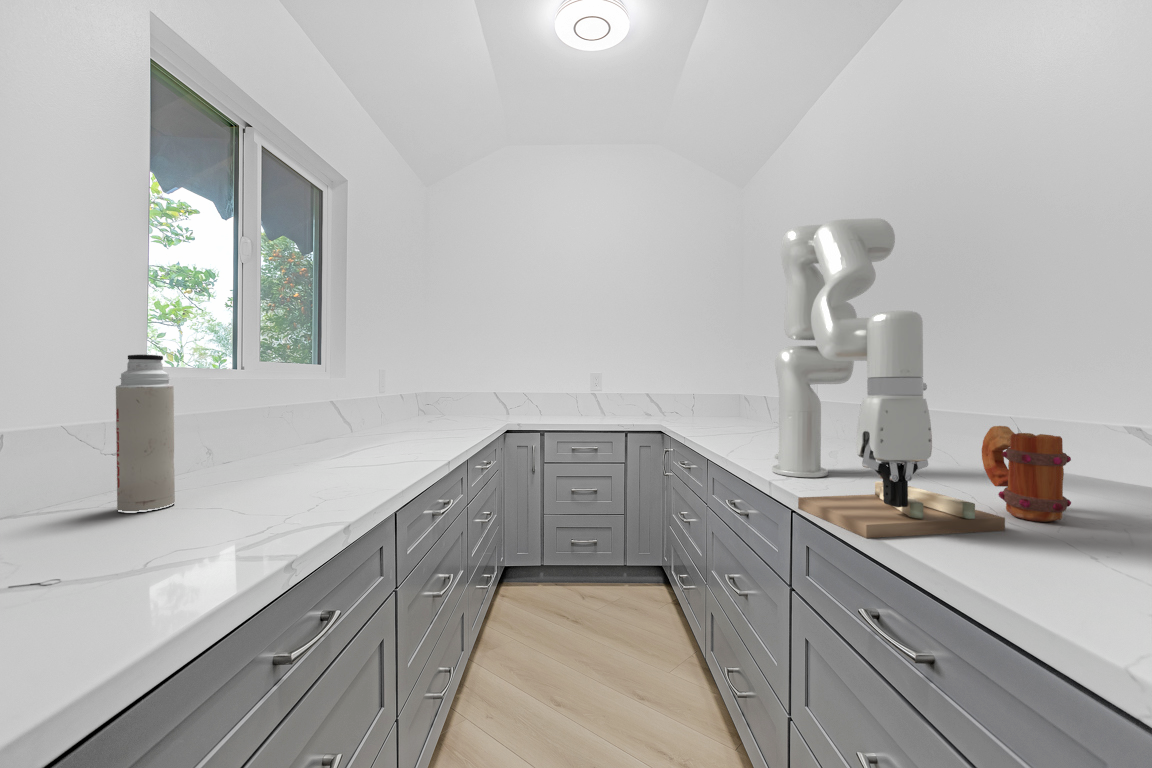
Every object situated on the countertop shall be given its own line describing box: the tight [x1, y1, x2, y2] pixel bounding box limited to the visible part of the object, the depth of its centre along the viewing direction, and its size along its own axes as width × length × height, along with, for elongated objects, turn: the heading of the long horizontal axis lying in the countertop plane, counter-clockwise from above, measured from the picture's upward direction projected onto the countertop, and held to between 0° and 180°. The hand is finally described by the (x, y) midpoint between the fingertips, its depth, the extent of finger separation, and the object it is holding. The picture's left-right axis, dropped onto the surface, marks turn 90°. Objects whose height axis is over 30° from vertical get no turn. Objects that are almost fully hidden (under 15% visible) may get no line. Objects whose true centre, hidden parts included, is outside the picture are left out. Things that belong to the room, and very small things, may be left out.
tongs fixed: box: [908, 485, 976, 519], centre depth 84 cm, size 16×3×3 cm, turn 9°
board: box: [797, 493, 1006, 539], centre depth 84 cm, size 17×24×2 cm
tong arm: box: [874, 480, 923, 519], centre depth 85 cm, size 17×4×2 cm, turn 168°
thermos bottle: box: [115, 354, 176, 511], centre depth 91 cm, size 8×8×28 cm
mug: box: [981, 425, 1072, 523], centre depth 87 cm, size 15×8×15 cm, turn 179°
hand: (895, 505), depth 79 cm, fingers closed
